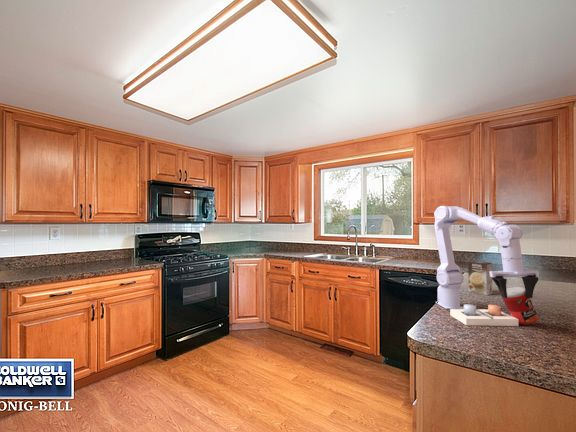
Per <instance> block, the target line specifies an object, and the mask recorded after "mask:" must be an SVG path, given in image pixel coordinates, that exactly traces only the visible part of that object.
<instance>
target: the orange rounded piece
mask: <svg viewBox="0 0 576 432" xmlns="http://www.w3.org/2000/svg"><path fill="white" fill-rule="evenodd" d="M487 309H488V314H489V315H491V316H501V312H502V305H497V304H490V303H489V304H487Z"/></svg>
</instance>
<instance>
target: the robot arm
mask: <svg viewBox="0 0 576 432" xmlns="http://www.w3.org/2000/svg"><path fill="white" fill-rule="evenodd" d="M433 215H434V232H435V238H436V239H435V240H436V243H437V250H438V255H439V260H440V261H439V262H440V265H439V266H438V267H437V268H436V281H437V283H438V284H439V285H438V287H437V290H436V291H437V301H435V304H437V305H439V306H440V307H442V308H444V309H446V310H450V309H464V306H462V305H461V291H460V290H461V288H460V287H462V286H461V285H462V284H463V283H464V281H465V279H464V278H465V277H464V275H463V273H462V271H461V267H460V266H458V264H456V262H455V256H454V251H453V245H452V240H451V239H452V238H451V235H450V228H451V226H452V225H453V224H455V223H457V222H458V221H459V220H461V219H462V220H465V221H467V222H470V223H472V224H474V225H477V227H478V229H479V230H481V231H483V232H485V233H487V234H490V235H492V236H494V237H495V238H496V240H497V241H498V244H499V246H500V247H499V248H500V256H501V262H502V270H495V271H493V270H492V271H489V273H490V277H492V282H493V283H494V284H495V285H496V286H497V288H498V291H499V293H500V296H501V298H502V297H503V298H507V290H506V289H507V281H508V280H507V278H506V277H509V278H510V277H519V278H520V277H521V279H522V283H523V285H524V286H523V287H524V288H525V293H526V297H528V298H530V299H533V294H534V290H535V287H536V285H537V283H538V281H539V277H540V272H539V270H536V269H535V270H533V269H532V270H531V269H529V270H528V269H527V270H525V269H524V264H523V263H524V262H523V257H522V256H523V255H522V248H521V242H520V239H521V238H522V236H523V230H522V229H521V227H519V226H518V225H516V224H508V222H507V221H500V220H499V219H497V218H496V217H495V216H493V215H486V216H483V217H482V216H481V215H478V214H476V213H474V212H472V211H470V210H469V209H468V210H467V209H465V208H464V207H461V206H460V207H459V206H457V205H455V206H449V205H448V206H446V205H440V206H437V208H436V209H435V210H434V212H433ZM503 298H502V299H503ZM438 301H439V302H438ZM437 302H438V303H437Z"/></svg>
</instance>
